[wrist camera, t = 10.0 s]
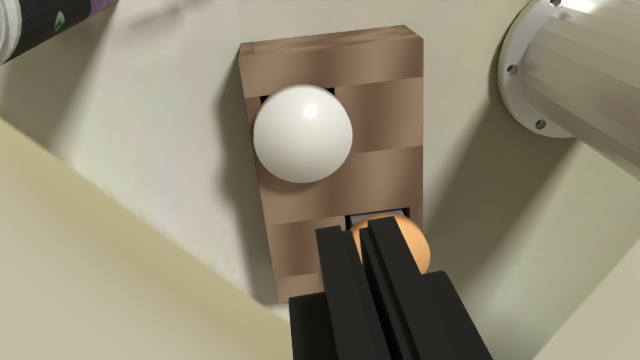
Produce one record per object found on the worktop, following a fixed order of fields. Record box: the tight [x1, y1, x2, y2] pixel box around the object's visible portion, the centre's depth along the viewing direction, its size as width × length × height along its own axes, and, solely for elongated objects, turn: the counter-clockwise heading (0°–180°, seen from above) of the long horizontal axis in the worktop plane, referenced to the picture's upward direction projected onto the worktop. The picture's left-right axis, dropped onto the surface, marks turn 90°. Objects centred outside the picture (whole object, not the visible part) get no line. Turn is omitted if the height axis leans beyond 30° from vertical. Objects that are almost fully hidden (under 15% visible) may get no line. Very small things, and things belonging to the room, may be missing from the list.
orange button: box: [346, 208, 430, 274], centre depth 40 cm, size 6×6×7 cm
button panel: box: [238, 25, 423, 303], centre depth 39 cm, size 12×20×5 cm, turn 5°
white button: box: [254, 84, 352, 183], centre depth 36 cm, size 6×6×7 cm
